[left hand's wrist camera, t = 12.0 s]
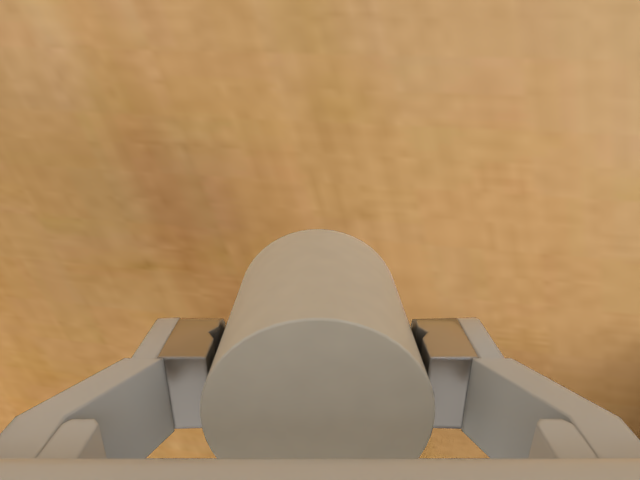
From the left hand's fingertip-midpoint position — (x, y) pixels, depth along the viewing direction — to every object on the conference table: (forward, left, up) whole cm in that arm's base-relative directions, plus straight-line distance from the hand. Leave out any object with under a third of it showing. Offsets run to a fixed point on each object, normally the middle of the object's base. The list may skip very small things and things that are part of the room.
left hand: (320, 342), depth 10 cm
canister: (0, 0, -2) cm, 2 cm away
